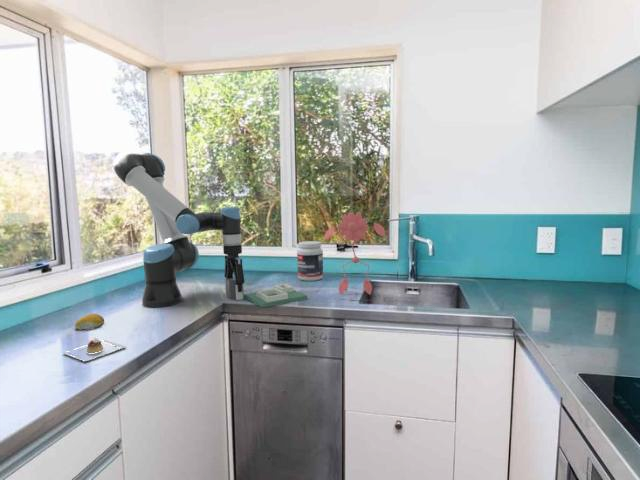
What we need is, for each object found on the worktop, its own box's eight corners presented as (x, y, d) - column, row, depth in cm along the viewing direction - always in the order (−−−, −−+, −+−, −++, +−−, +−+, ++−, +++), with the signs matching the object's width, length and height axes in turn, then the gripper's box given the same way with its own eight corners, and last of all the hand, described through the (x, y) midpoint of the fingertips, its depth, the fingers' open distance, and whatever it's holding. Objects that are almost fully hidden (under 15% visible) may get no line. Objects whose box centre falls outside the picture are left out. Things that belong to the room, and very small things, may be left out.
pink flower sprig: (328, 290, 181) (326, 211, 176) (387, 292, 175) (386, 210, 170) (319, 300, 167) (316, 214, 162) (383, 303, 160) (382, 213, 155)
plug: (230, 299, 170) (229, 280, 169) (226, 297, 174) (225, 279, 173) (245, 297, 173) (244, 278, 172) (241, 295, 177) (240, 276, 176)
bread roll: (106, 321, 146) (105, 310, 145) (99, 329, 137) (98, 317, 137) (80, 323, 144) (79, 312, 144) (71, 331, 135) (70, 320, 135)
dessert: (62, 356, 116) (60, 340, 115) (104, 342, 126) (102, 327, 125) (85, 365, 109) (83, 348, 108) (127, 350, 119) (125, 334, 118)
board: (262, 307, 157) (262, 298, 157) (244, 297, 172) (244, 289, 172) (307, 298, 168) (307, 290, 167) (286, 290, 183) (286, 282, 183)
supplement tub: (294, 281, 202) (292, 244, 199) (302, 275, 214) (301, 240, 212) (319, 282, 198) (318, 244, 196) (326, 276, 210) (325, 241, 208)
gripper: (251, 246, 163) (253, 301, 166) (231, 241, 182) (234, 290, 185) (233, 247, 159) (236, 304, 162) (214, 242, 178) (217, 293, 181)
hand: (235, 296), depth 173 cm, fingers open, 9 cm apart
